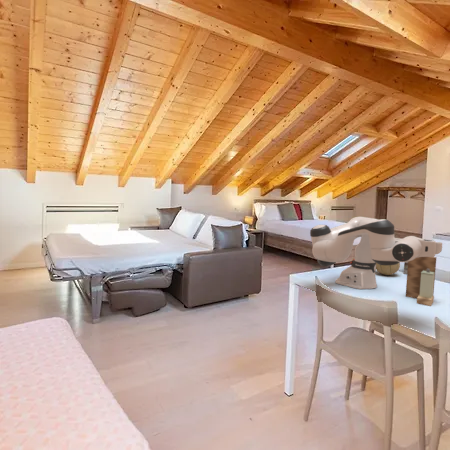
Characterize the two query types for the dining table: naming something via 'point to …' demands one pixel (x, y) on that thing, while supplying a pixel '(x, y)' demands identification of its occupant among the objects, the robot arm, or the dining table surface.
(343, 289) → the dining table surface
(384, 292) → the dining table surface
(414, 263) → the brown tall block
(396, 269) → the cantaloupe
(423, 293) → the olive rectangular canister
